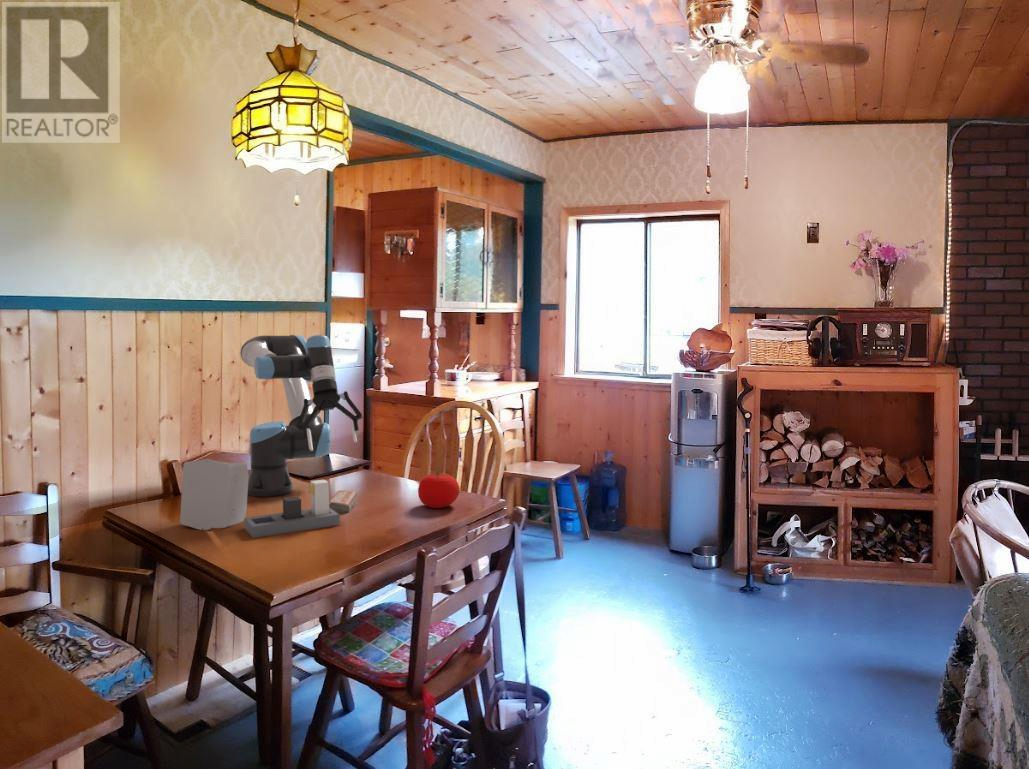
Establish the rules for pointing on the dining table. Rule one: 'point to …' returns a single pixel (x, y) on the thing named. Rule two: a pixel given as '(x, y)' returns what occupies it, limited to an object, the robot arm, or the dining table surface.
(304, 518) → the socket strip
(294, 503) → the dark grey block
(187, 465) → the electrical switch box
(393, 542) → the dining table surface
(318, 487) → the plug
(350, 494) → the packaged product
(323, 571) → the dining table surface
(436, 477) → the tomato
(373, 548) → the dining table surface
